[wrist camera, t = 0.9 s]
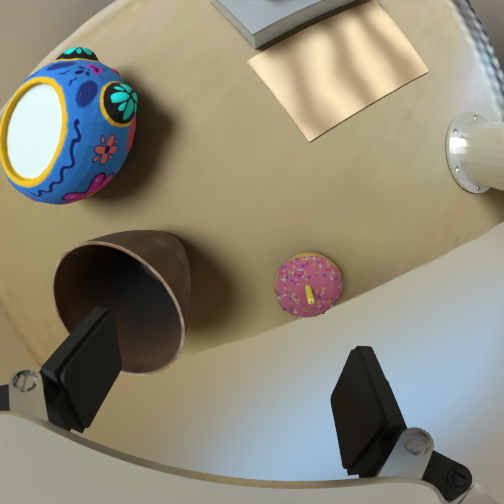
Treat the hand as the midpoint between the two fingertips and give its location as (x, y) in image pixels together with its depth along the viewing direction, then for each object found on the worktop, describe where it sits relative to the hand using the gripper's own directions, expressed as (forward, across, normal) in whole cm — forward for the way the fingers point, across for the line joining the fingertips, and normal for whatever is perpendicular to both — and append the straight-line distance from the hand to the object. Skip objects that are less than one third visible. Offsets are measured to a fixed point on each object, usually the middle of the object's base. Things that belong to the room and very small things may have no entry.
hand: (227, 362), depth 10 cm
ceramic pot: (+28, +23, -9) cm, 37 cm away
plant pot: (+28, +12, +8) cm, 31 cm away
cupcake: (+28, -8, +7) cm, 30 cm away
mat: (+28, -9, -22) cm, 36 cm away
